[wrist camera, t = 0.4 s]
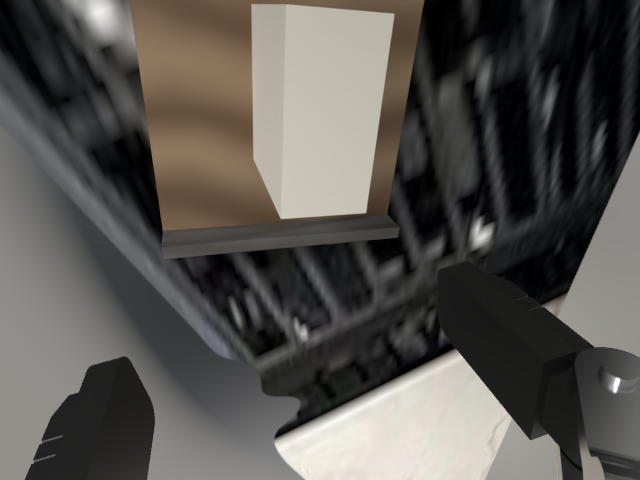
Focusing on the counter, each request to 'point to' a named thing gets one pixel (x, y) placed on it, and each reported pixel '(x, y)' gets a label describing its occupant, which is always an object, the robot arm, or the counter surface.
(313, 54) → the carton
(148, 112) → the shelf plank
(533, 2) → the counter surface
